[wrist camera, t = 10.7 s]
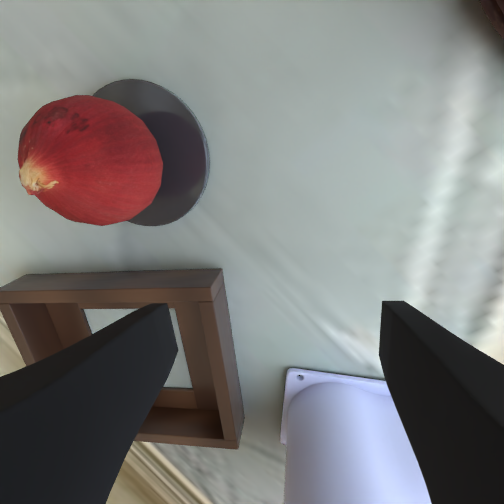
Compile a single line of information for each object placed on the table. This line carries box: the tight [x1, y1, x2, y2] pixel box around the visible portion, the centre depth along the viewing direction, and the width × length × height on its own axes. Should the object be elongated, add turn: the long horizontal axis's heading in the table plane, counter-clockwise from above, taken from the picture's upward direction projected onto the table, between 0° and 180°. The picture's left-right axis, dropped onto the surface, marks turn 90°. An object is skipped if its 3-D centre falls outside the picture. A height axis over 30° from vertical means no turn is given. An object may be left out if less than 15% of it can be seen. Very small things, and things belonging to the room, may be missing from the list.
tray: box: [0, 269, 245, 449], centre depth 22 cm, size 16×14×3 cm
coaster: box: [93, 79, 210, 226], centre depth 18 cm, size 8×8×1 cm
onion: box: [18, 95, 163, 226], centre depth 14 cm, size 6×6×8 cm
